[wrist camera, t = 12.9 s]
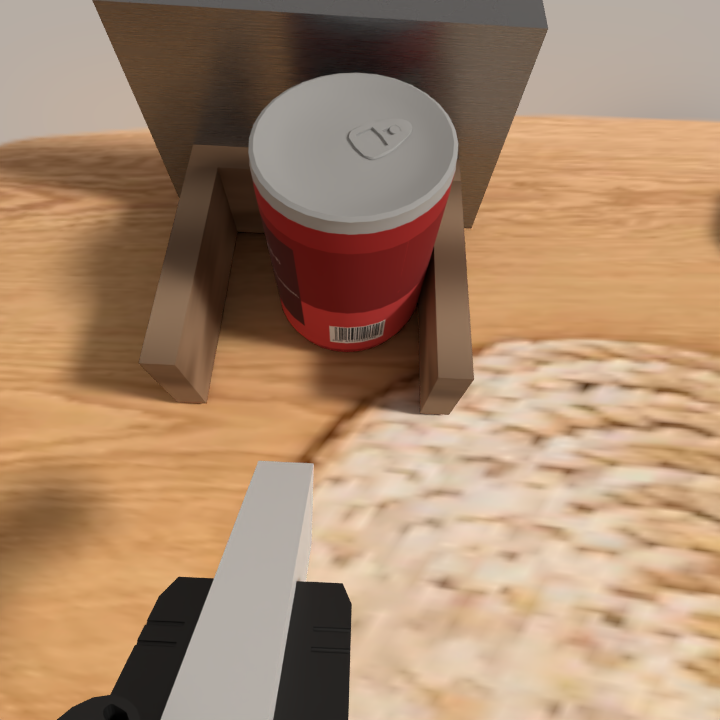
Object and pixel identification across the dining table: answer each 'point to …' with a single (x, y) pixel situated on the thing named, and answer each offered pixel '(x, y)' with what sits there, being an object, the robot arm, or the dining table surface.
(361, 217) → the canned food
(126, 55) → the backstop wall
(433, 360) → the walnut bracket
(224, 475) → the dining table surface
